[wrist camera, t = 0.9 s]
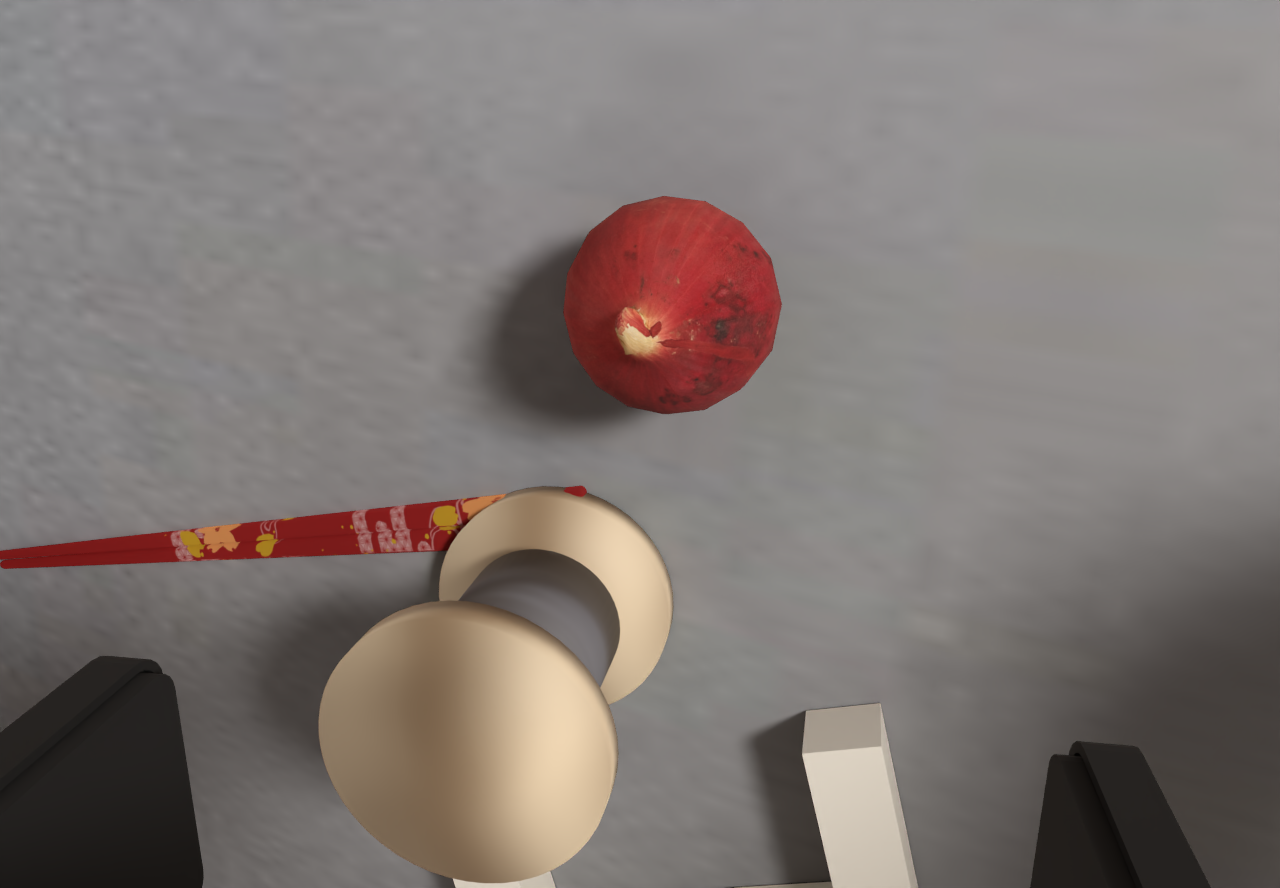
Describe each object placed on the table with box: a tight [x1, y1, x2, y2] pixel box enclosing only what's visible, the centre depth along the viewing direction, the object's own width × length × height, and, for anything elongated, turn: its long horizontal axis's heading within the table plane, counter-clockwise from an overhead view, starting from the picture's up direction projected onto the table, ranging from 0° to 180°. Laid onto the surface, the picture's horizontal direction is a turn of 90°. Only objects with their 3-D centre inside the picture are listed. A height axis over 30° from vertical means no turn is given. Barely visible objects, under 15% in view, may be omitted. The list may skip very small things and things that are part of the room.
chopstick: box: [0, 486, 587, 569], centre depth 38 cm, size 2×24×1 cm, turn 100°
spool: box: [319, 486, 673, 883], centre depth 32 cm, size 8×8×10 cm
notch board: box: [453, 703, 918, 888], centre depth 37 cm, size 16×10×2 cm, turn 104°
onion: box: [563, 196, 782, 414], centre depth 28 cm, size 6×6×8 cm
